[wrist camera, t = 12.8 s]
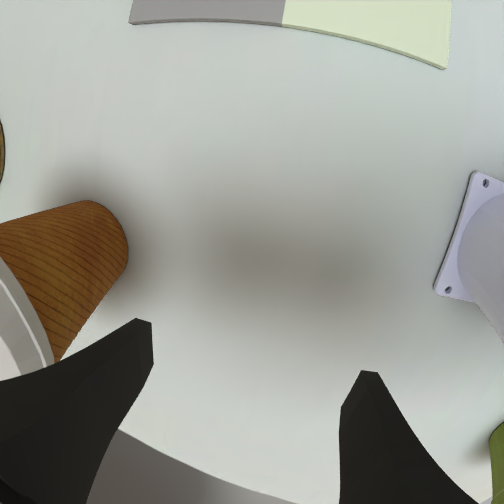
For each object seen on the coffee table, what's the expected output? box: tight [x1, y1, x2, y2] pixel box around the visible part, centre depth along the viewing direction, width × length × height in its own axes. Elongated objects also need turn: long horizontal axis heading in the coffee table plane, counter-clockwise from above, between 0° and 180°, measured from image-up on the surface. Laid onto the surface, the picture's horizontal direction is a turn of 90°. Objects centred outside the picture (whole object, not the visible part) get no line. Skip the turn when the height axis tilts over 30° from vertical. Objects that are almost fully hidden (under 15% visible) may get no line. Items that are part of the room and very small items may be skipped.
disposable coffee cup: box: [0, 201, 128, 381], centre depth 15 cm, size 10×10×12 cm
